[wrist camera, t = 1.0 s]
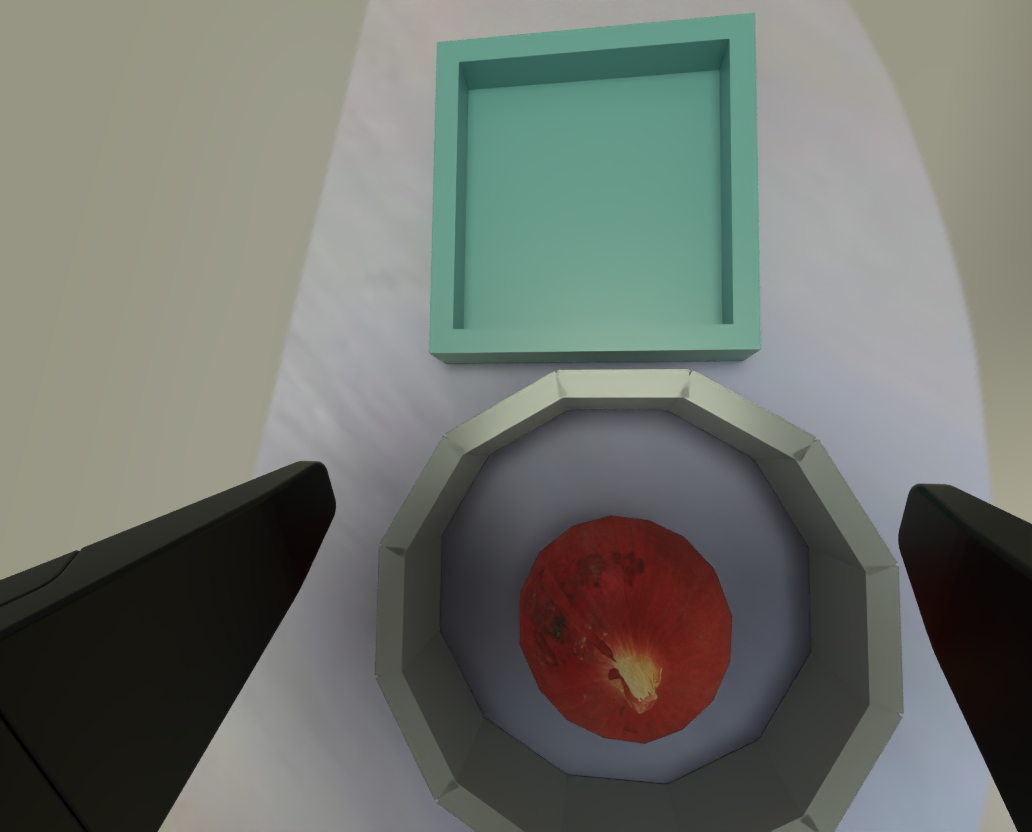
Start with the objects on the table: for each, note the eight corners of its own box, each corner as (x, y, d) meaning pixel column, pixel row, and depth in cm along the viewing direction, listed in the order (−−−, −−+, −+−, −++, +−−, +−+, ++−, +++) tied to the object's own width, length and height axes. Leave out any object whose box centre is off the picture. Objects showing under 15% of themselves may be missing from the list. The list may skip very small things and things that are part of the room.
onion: (507, 626, 20) (448, 737, 12) (574, 478, 20) (560, 492, 12) (660, 706, 19) (707, 884, 11) (731, 552, 19) (827, 618, 11)
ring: (841, 826, 18) (911, 930, 14) (413, 783, 20) (369, 864, 16) (830, 386, 19) (892, 367, 15) (424, 387, 21) (384, 371, 17)
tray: (743, 360, 19) (760, 349, 17) (445, 363, 21) (429, 353, 19) (738, 58, 20) (755, 12, 18) (452, 81, 22) (437, 42, 20)
